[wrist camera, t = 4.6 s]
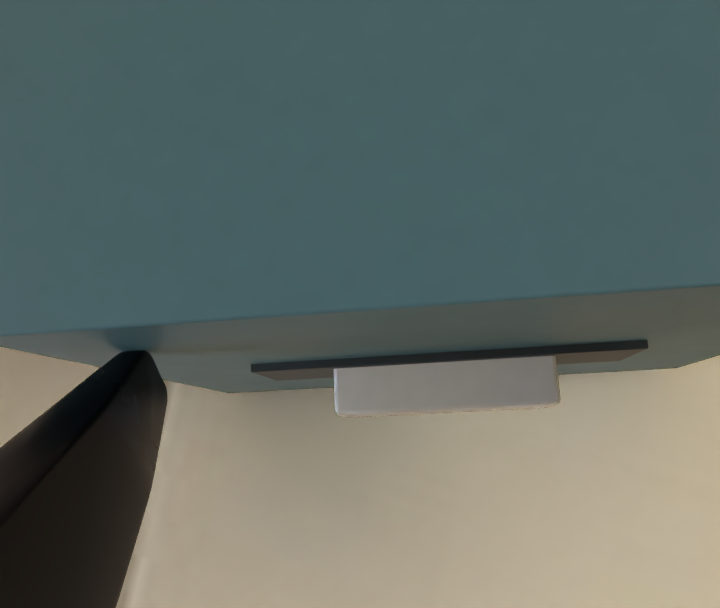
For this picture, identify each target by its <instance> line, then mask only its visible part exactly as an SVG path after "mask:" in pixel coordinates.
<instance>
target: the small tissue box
mask: <svg viewBox="0 0 720 608" xmlns="http://www.w3.org/2000/svg"><path fill="white" fill-rule="evenodd" d="M0 347H4V348H9V349H14V350H19V351H24V352H29V353H34V354H39V355H44V356H48V357H53V358H58V359H63V360H68V361H73V362H78V363H83V364H88V365H93V366H98V367H102V366H103V365H104V364H106V363H107V362H108V361H109V360H111V359H112V358H113V357H115V356H116V355H117V354H119V353H120V352H124V351H137V350H145V351H147V352H149V353H150V354H151V356H152V357H153V359H154V362H155V364H156V366H157V368H158V370H159V373H160V375H161V377H162V379H163V380H167V381H172V382H177V383H182V384H187V385H192V386H197V387H202V388H207V389H212V390H216V391H221V392H226V393H240V392H258V391H276V390H293V389H311V388H329V387H334V395H335V412H336V414H337V415H340V416H345V417H350V418H352V417H372V416H392V415H413V414H433V413H453V412H473V411H493V410H513V409H533V408H546V407H550V406H553V405H556V404H558V403H559V402H560V391H559V382H558V375H562V374H580V373H598V372H616V371H634V370H652V369H670V368H678V367H682V366H685V365H688V364H692V363H695V362H698V361H702V360H705V359H708V358H712V357H715V356H718V355H720V0H0Z"/></svg>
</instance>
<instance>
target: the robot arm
mask: <svg viewBox="0 0 720 608" xmlns="http://www.w3.org/2000/svg"><path fill="white" fill-rule="evenodd" d="M166 406H167V389H166V386H165V384H164V381H163V379H162V377H161V375H160V373H159V370H158V368H157V366H156V364H155V362H154V359H153V357H152V356H151V354H150V353H149V352H147V351H145V350H137V351H124V352H120V353H119V354H117V355H116V356H115V357H113V358H112V359H111V360H109V361H108V362H107V363H106V364H104V365H103V366H102V367H101V368H99V369H98V370H97V371H96V372H94V373H93V374H92V375H91V376H89V377H88V378H87V379H86V380H84V381H83V382H82V383H81V384H79V385H78V386H77V387H76V388H74V389H73V390H72V391H71V392H69V393H68V394H67V395H66V396H64V397H63V398H62V399H61V400H59V401H58V402H57V403H56V404H54V405H53V406H52V407H51V408H49V409H48V410H47V411H46V412H44V413H43V414H42V415H41V416H39V417H38V418H37V419H36V420H34V421H33V422H32V423H31V424H29V425H28V426H27V427H26V428H24V429H23V430H22V431H21V432H19V433H18V434H17V435H16V436H14V437H13V438H12V439H11V440H9V441H8V442H7V443H6V444H4V445H3V446H2V447H1V448H0V608H116V606H117V602H118V599H119V596H120V592H121V589H122V586H123V582H124V579H125V576H126V572H127V569H128V566H129V562H130V559H131V556H132V553H133V549H134V546H135V543H136V539H137V536H138V533H139V529H140V526H141V523H142V519H143V516H144V513H145V509H146V506H147V502H148V499H149V495H150V491H151V487H152V483H153V478H154V473H155V467H156V462H157V456H158V451H159V445H160V440H161V434H162V428H163V423H164V417H165V412H166Z"/></svg>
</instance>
